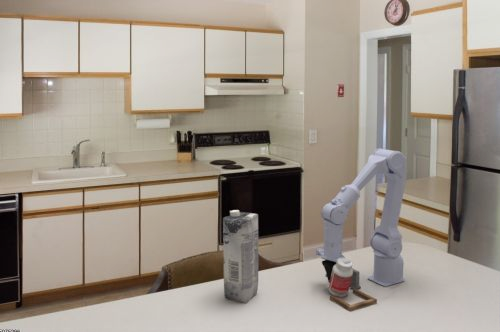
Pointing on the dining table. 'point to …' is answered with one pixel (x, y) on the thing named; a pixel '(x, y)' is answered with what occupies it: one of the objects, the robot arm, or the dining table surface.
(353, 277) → the slate screen
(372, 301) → the walnut bracket
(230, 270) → the juice carton
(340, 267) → the pill bottle
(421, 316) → the dining table surface
